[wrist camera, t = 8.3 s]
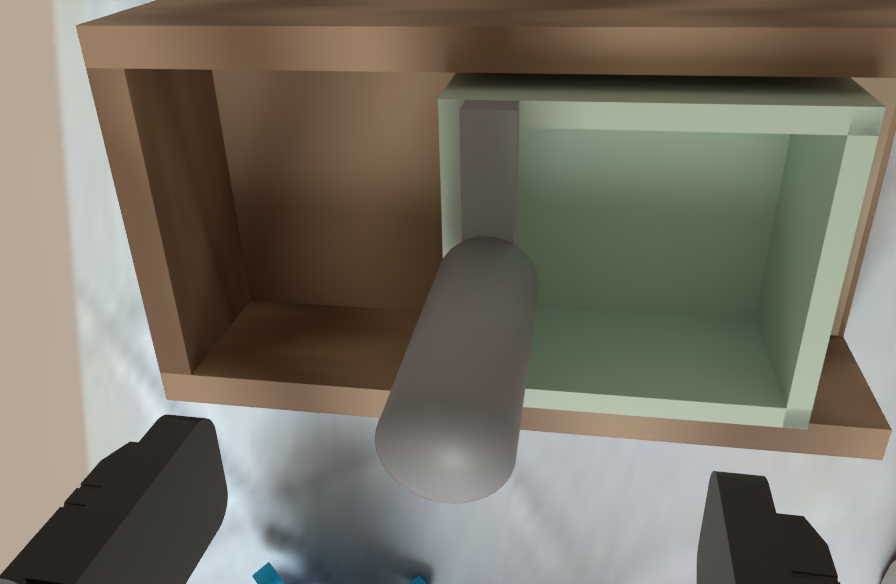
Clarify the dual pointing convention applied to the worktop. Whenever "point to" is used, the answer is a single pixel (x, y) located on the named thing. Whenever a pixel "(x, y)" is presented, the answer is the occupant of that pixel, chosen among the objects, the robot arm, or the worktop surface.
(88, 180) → the worktop surface
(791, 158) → the crate
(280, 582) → the gear
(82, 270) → the worktop surface
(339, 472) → the worktop surface
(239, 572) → the worktop surface
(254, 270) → the bay
